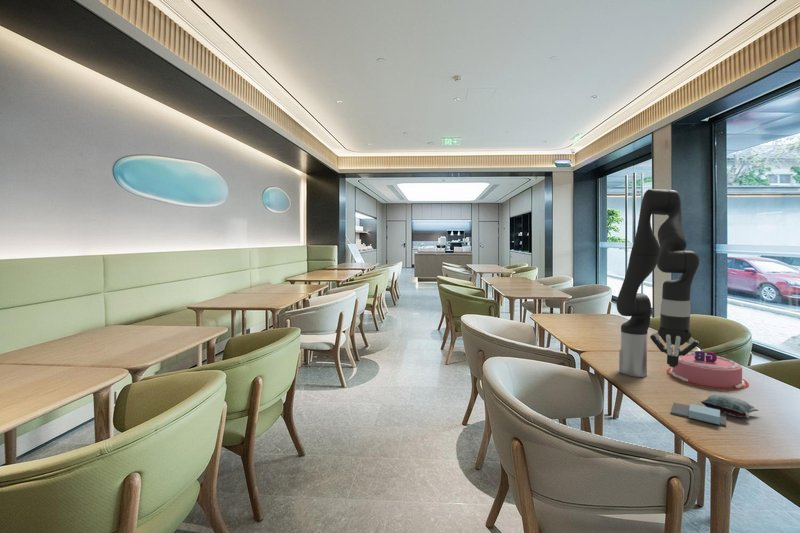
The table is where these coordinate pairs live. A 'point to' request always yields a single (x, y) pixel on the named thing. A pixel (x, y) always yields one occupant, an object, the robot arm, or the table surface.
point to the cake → (709, 371)
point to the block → (704, 413)
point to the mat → (684, 411)
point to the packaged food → (729, 405)
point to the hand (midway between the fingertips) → (672, 366)
